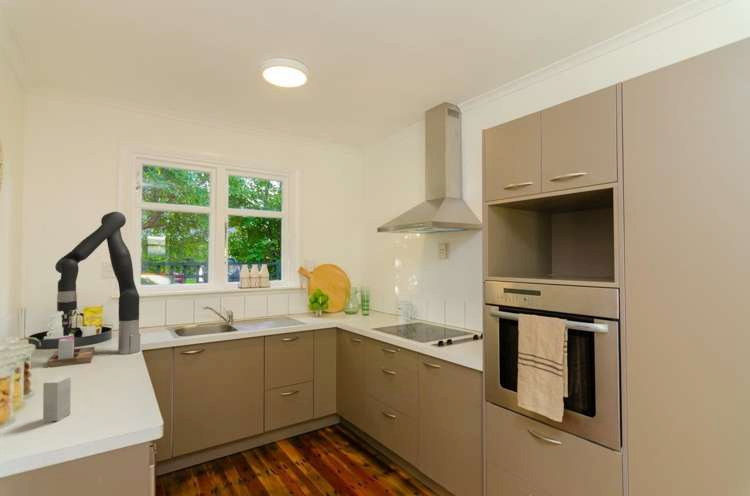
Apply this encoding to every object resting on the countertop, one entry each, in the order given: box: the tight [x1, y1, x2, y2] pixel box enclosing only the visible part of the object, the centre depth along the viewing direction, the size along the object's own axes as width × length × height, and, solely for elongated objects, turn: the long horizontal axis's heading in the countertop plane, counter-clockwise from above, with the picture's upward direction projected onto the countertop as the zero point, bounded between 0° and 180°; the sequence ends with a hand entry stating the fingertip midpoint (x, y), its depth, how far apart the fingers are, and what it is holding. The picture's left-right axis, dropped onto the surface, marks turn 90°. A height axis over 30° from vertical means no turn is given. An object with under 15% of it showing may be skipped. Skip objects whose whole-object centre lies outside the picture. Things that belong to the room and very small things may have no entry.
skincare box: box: [42, 376, 72, 423], centre depth 122 cm, size 6×4×12 cm
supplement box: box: [57, 337, 76, 359], centre depth 188 cm, size 6×6×12 cm
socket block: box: [47, 346, 95, 369], centre depth 194 cm, size 25×16×3 cm, turn 32°
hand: (67, 334), depth 188 cm, fingers open, 8 cm apart
